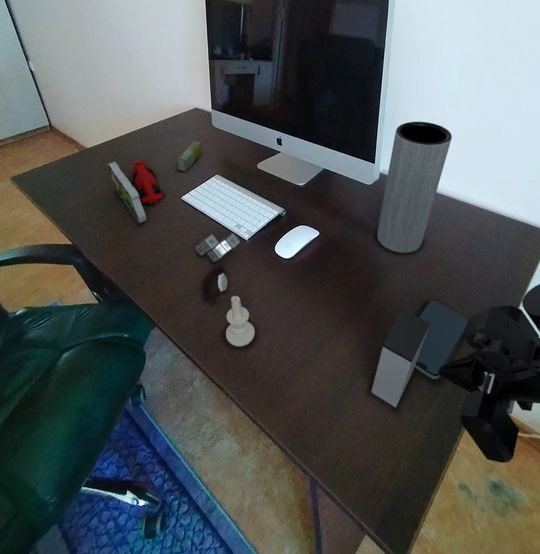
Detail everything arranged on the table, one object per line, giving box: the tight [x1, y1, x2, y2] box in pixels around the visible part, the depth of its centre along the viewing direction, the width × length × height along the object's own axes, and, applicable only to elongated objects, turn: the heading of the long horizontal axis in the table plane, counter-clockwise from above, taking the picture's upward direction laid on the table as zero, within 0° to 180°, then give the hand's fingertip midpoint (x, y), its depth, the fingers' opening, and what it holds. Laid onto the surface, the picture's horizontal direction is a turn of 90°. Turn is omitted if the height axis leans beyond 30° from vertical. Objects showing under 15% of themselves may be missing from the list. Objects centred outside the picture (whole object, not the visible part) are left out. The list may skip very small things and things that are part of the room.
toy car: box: [129, 158, 163, 205], centre depth 105 cm, size 6×18×5 cm, turn 26°
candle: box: [225, 295, 256, 347], centre depth 64 cm, size 5×5×10 cm
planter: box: [376, 121, 453, 254], centre depth 78 cm, size 10×10×27 cm
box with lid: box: [370, 309, 430, 408], centre depth 55 cm, size 4×7×13 cm, turn 143°
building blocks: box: [193, 232, 241, 263], centre depth 82 cm, size 5×5×8 cm
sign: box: [107, 161, 147, 224], centre depth 98 cm, size 22×2×10 cm, turn 36°
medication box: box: [177, 141, 202, 172], centre depth 117 cm, size 12×3×4 cm, turn 165°
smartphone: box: [414, 299, 470, 380], centre depth 64 cm, size 8×2×15 cm
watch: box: [202, 266, 228, 301], centre depth 75 cm, size 8×5×4 cm, turn 172°
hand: (440, 371), depth 51 cm, fingers closed
